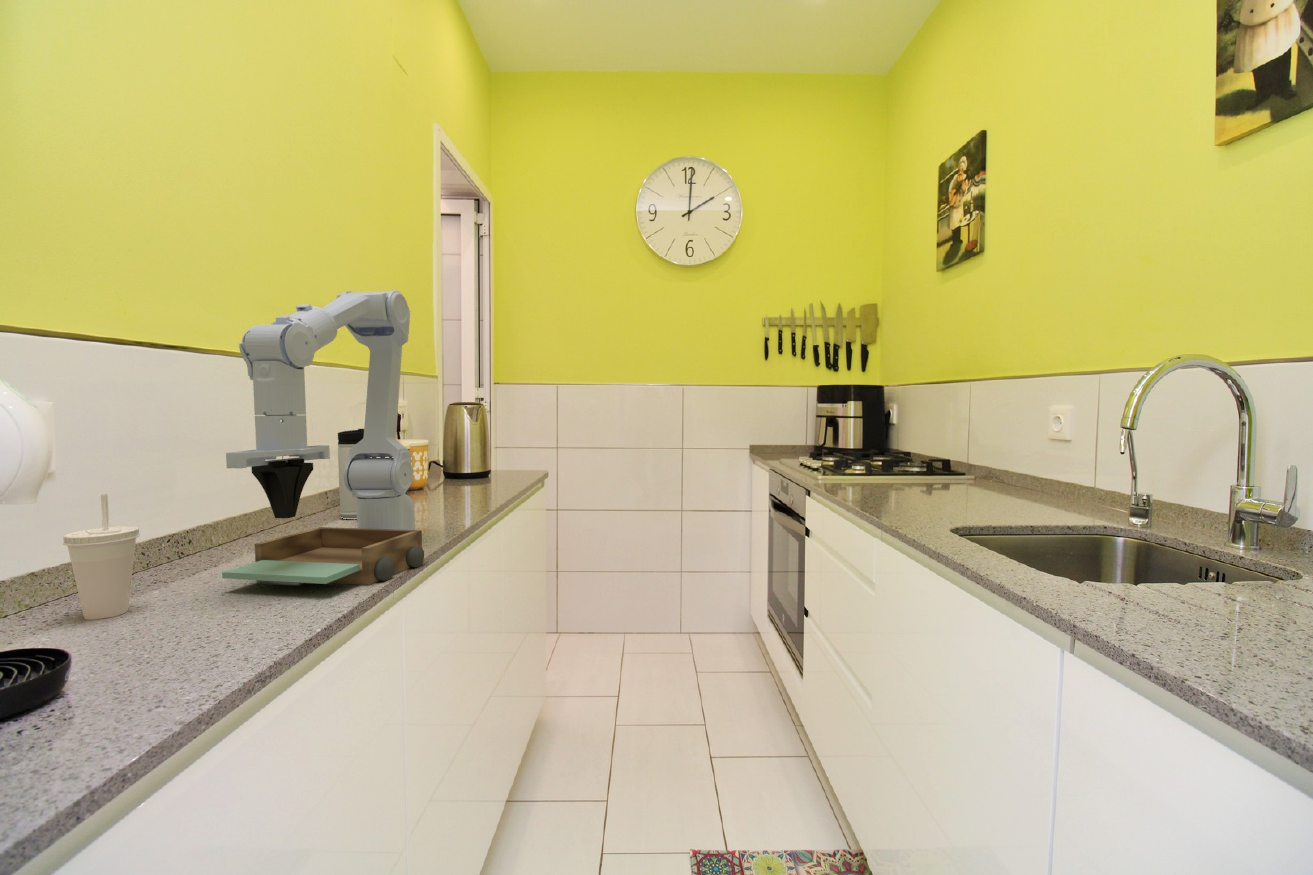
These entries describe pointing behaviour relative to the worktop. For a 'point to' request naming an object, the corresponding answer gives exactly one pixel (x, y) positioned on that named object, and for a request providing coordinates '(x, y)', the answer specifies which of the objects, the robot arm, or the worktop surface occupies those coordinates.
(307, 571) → the tailgate
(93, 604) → the smoothie
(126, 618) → the worktop surface
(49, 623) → the worktop surface
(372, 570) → the cart
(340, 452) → the travel mug
